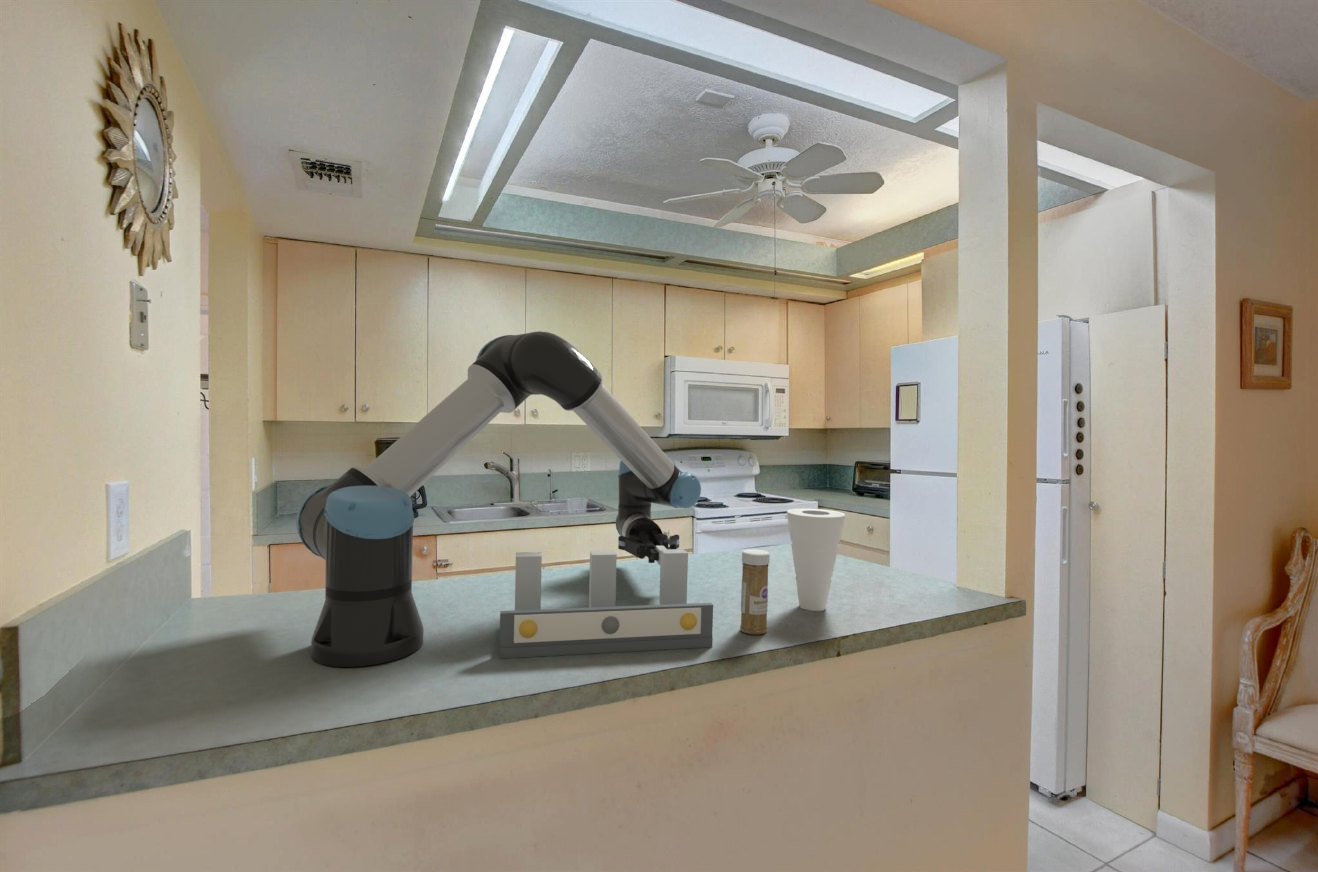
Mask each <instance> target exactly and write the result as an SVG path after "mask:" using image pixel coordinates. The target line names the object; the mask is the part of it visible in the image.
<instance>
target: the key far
mask: <svg viewBox="0 0 1318 872" xmlns="http://www.w3.org/2000/svg"><path fill="white" fill-rule="evenodd" d="M688 565H689V552H688V551H686V550H685V549H683V548H677V549H665V550H661V560H660V565H659V567H660V568H659V570H660V571H659V598H658V599H659V600H658V601H659V603H658V605H665V604H688V600H687V599H688V570H689V566H688Z"/></svg>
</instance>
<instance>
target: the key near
mask: <svg viewBox="0 0 1318 872" xmlns="http://www.w3.org/2000/svg"><path fill="white" fill-rule="evenodd" d="M542 565H543V563H542V552H541V551H537V552H536V551H534V552H533V551H529V552H527V551H526V552H525V551H524V552H523V551H522V552H521V551H520V552H519V551H518V552H515V573H514V574H515V577H514V578H515V579H514V580H515V582H514V583H515V584H514V585H515V586H514V587H515V588H514V610H538V609H542V607H541V604H542V598H541V597H542Z"/></svg>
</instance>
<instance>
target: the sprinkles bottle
mask: <svg viewBox="0 0 1318 872" xmlns="http://www.w3.org/2000/svg"><path fill="white" fill-rule="evenodd" d="M770 555H771V554H770V552H769V551H768V550H763V549H758V548H757V549H756V548H750V549H749V548H747V549H744V550H742V552H741V563H742V564H741V565H742V571H741V572H742V576H741V577H742V578H741V590H740V591H741V596H740V599H741V601H740V626H739V629H740V631H741V632H743V633H744V634H746V635H751V636H752V635H753V636H755V635H763V634H765V633H767V632H768V627H767V626H768V625H767V622H768V619H767V618H768V614H767V613H768V607H769V605H768V603H769V601H768V599H769V598H768V597H769V595H768V594H769V589H768V587H769V565H770V560H771V559H770Z"/></svg>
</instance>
